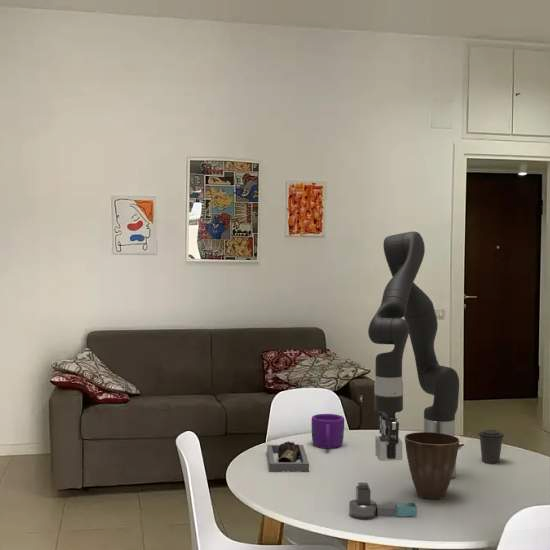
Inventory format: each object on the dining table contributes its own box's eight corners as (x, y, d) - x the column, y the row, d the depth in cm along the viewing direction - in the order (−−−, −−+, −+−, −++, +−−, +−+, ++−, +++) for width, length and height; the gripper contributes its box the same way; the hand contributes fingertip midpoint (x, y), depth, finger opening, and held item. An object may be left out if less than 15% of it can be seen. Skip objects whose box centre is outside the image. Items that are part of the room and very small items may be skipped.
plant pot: (400, 486, 220) (401, 431, 220) (452, 487, 220) (453, 432, 219) (407, 503, 205) (408, 444, 205) (463, 504, 205) (464, 445, 204)
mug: (311, 440, 272) (312, 413, 272) (343, 441, 272) (344, 413, 271) (310, 453, 255) (310, 423, 255) (344, 454, 254) (344, 424, 254)
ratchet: (412, 510, 200) (412, 479, 199) (418, 519, 193) (418, 488, 192) (347, 510, 199) (347, 479, 199) (351, 519, 192) (351, 488, 192)
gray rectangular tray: (302, 452, 257) (303, 444, 256) (308, 471, 234) (308, 463, 233) (267, 452, 256) (267, 444, 256) (269, 471, 233) (269, 463, 233)
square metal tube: (397, 454, 207) (397, 435, 207) (402, 460, 201) (402, 441, 201) (375, 454, 207) (375, 436, 207) (379, 460, 201) (379, 441, 201)
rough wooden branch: (292, 471, 235) (293, 453, 235) (271, 470, 236) (271, 452, 236) (301, 456, 252) (302, 439, 252) (281, 455, 253) (281, 438, 253)
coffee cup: (500, 459, 251) (501, 428, 251) (505, 465, 243) (506, 434, 243) (475, 458, 252) (476, 427, 252) (479, 464, 244) (480, 433, 244)
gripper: (408, 397, 197) (408, 462, 197) (396, 387, 211) (396, 447, 212) (380, 398, 196) (380, 463, 197) (369, 387, 211) (369, 448, 211)
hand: (388, 454), depth 204 cm, fingers closed on square metal tube, 6 cm apart
